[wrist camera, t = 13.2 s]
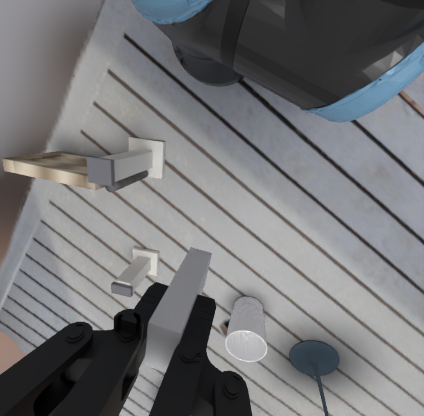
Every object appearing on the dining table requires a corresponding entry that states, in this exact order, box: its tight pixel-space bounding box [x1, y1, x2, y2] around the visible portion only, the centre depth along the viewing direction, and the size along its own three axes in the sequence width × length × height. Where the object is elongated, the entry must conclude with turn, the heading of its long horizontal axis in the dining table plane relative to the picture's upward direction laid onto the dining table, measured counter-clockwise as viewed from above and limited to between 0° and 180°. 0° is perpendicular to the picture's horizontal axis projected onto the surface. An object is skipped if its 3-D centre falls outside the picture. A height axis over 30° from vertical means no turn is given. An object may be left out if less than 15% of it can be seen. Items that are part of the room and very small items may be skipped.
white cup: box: [225, 296, 267, 362], centre depth 48 cm, size 8×8×10 cm
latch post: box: [111, 247, 159, 297], centre depth 49 cm, size 6×6×11 cm
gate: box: [2, 152, 148, 192], centre depth 41 cm, size 20×2×11 cm, turn 82°
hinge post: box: [86, 137, 165, 186], centre depth 38 cm, size 7×7×15 cm
